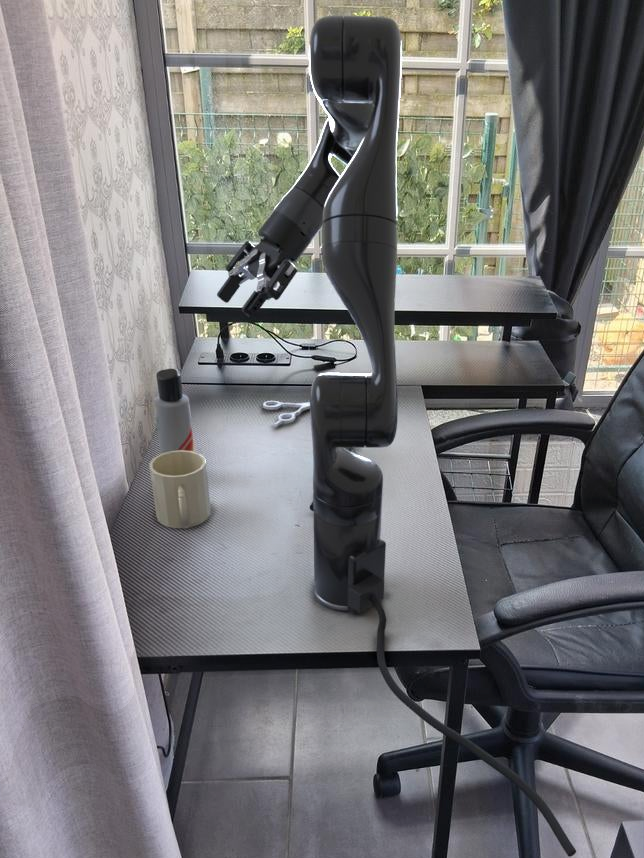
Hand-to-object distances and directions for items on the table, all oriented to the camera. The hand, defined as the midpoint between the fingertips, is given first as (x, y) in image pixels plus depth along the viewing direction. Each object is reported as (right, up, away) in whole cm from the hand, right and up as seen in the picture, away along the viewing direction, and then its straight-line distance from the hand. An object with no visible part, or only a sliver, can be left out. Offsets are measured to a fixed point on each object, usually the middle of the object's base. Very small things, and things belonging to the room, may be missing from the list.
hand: (233, 306), depth 128 cm
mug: (-8, -34, +1) cm, 35 cm away
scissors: (+9, -11, +38) cm, 40 cm away
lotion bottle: (-12, -27, +12) cm, 32 cm away
